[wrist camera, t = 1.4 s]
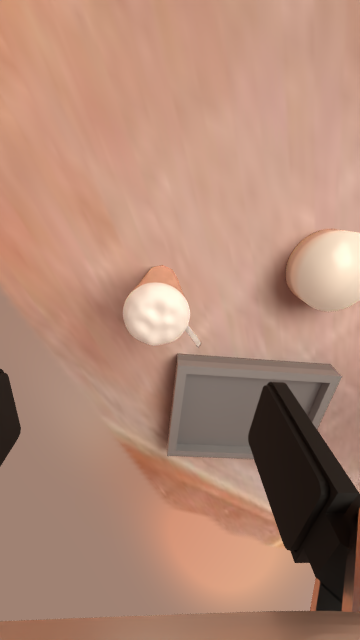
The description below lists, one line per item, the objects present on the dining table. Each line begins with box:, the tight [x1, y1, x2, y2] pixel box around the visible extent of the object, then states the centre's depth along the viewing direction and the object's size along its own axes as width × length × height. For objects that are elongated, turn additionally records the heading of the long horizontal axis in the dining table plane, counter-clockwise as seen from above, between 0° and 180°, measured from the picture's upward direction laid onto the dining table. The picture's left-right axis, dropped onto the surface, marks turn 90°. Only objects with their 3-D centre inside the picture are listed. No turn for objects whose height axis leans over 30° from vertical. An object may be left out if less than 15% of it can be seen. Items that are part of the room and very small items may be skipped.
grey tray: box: [167, 354, 342, 459], centre depth 30 cm, size 18×14×2 cm
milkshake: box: [123, 265, 201, 348], centre depth 20 cm, size 4×5×10 cm
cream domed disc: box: [285, 229, 360, 312], centre depth 23 cm, size 7×7×3 cm
